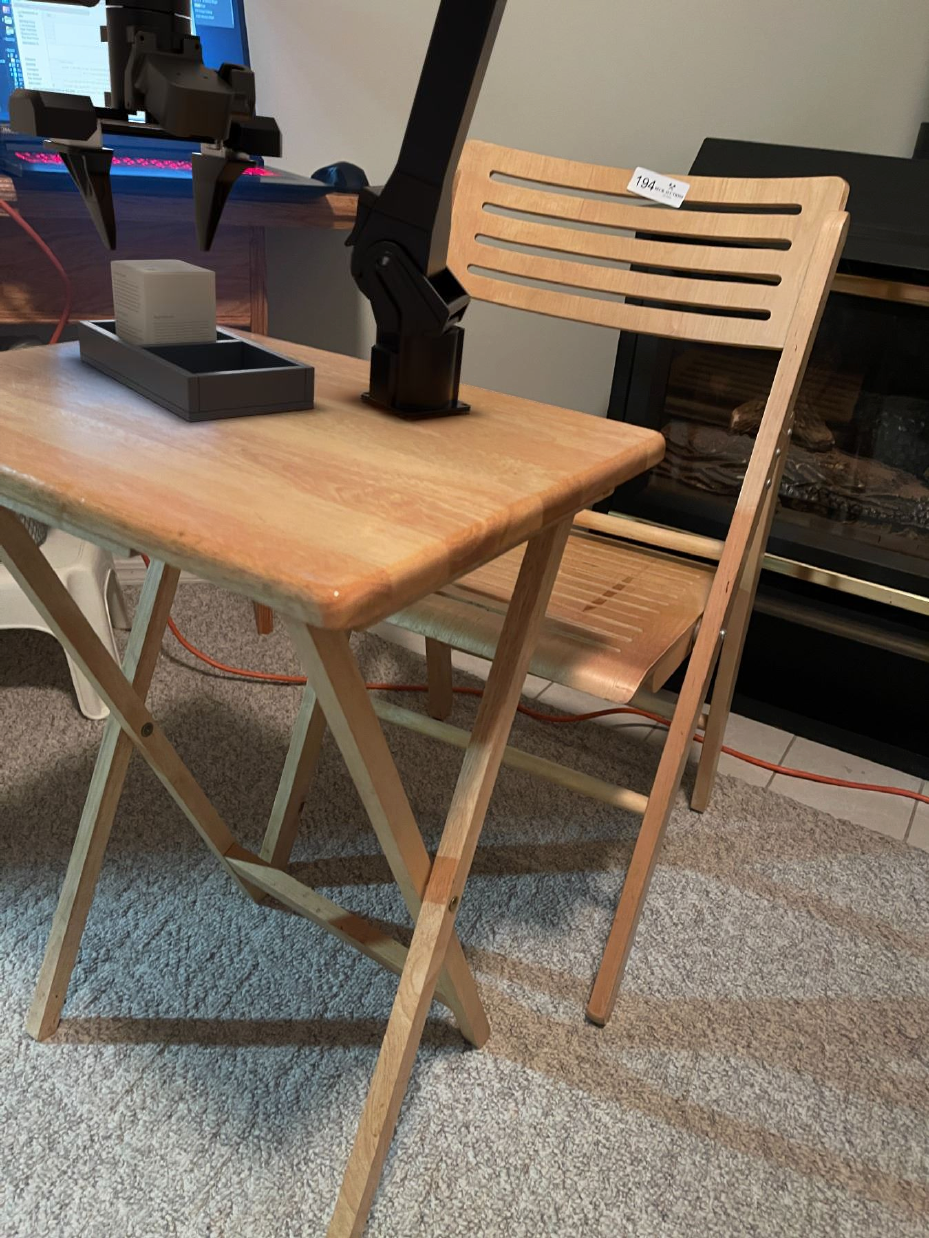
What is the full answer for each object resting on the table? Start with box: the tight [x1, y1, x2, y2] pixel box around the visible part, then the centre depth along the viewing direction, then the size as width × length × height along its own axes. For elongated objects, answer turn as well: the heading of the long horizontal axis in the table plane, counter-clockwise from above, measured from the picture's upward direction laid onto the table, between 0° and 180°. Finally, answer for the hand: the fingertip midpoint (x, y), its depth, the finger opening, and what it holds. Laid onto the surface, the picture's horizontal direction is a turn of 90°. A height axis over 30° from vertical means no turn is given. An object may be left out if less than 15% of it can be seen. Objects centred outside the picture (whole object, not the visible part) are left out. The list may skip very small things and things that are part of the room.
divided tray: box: [76, 319, 316, 423], centre depth 73 cm, size 10×19×3 cm, turn 41°
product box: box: [110, 259, 217, 345], centre depth 75 cm, size 6×6×7 cm
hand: (159, 250), depth 73 cm, fingers open, 7 cm apart
